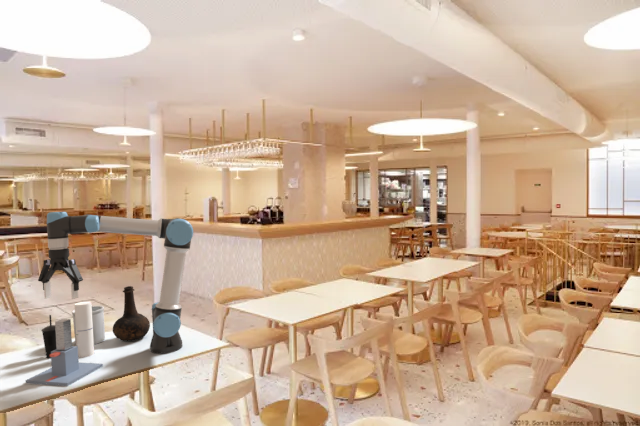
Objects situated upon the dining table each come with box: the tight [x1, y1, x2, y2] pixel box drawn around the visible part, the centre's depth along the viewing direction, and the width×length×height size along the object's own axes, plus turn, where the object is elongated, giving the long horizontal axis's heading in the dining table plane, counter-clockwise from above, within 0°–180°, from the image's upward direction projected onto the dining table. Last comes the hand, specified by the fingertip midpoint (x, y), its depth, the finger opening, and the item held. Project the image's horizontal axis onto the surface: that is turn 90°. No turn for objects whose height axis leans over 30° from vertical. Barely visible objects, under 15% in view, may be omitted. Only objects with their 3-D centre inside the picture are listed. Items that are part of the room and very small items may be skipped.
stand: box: [25, 345, 104, 387], centre depth 183 cm, size 20×20×11 cm
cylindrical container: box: [73, 300, 95, 358], centre depth 206 cm, size 7×7×25 cm
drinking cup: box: [40, 314, 57, 359], centre depth 205 cm, size 8×8×20 cm
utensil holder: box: [71, 305, 106, 346], centre depth 225 cm, size 15×15×18 cm
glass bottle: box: [112, 285, 151, 342], centre depth 228 cm, size 18×18×28 cm
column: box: [54, 318, 73, 351], centre depth 183 cm, size 4×4×22 cm
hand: (61, 298), depth 183 cm, fingers open, 13 cm apart
